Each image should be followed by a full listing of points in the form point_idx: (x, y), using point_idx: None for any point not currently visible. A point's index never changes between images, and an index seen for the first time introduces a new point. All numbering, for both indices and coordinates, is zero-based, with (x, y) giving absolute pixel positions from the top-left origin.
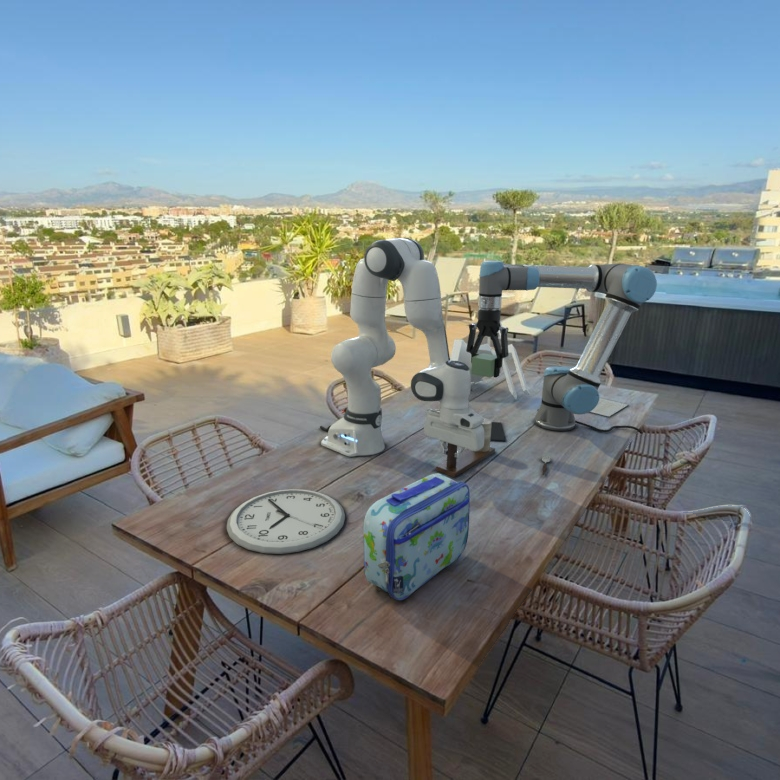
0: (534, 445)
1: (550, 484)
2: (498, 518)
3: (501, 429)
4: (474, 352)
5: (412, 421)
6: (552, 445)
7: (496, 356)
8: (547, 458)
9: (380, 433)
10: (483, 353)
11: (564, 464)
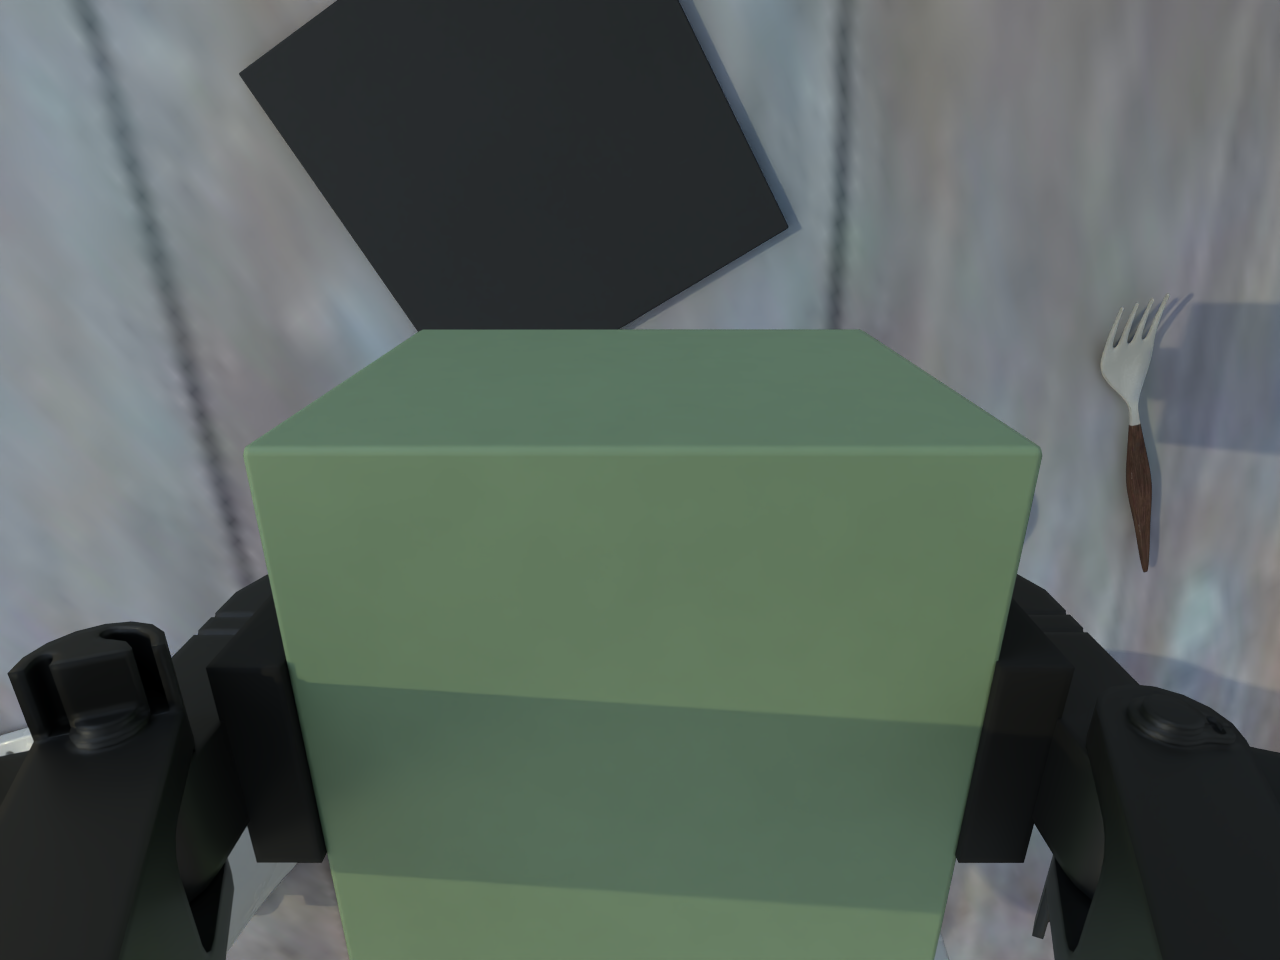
0: (999, 143)
1: (1184, 611)
2: (1033, 942)
3: (673, 11)
4: (228, 929)
5: (29, 321)
6: (1126, 41)
7: (897, 585)
8: (1137, 345)
9: (233, 868)
10: (305, 466)
11: (1239, 329)
